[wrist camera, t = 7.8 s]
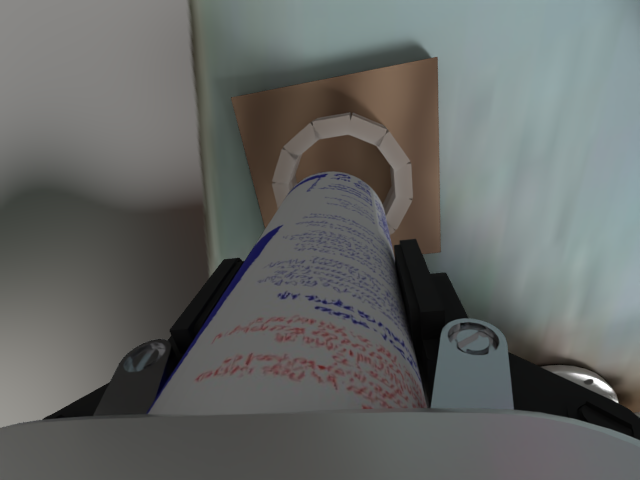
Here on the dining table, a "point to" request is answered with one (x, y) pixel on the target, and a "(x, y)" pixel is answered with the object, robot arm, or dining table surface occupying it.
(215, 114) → the dining table surface
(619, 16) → the dining table surface
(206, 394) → the beverage can
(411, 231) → the can stand
